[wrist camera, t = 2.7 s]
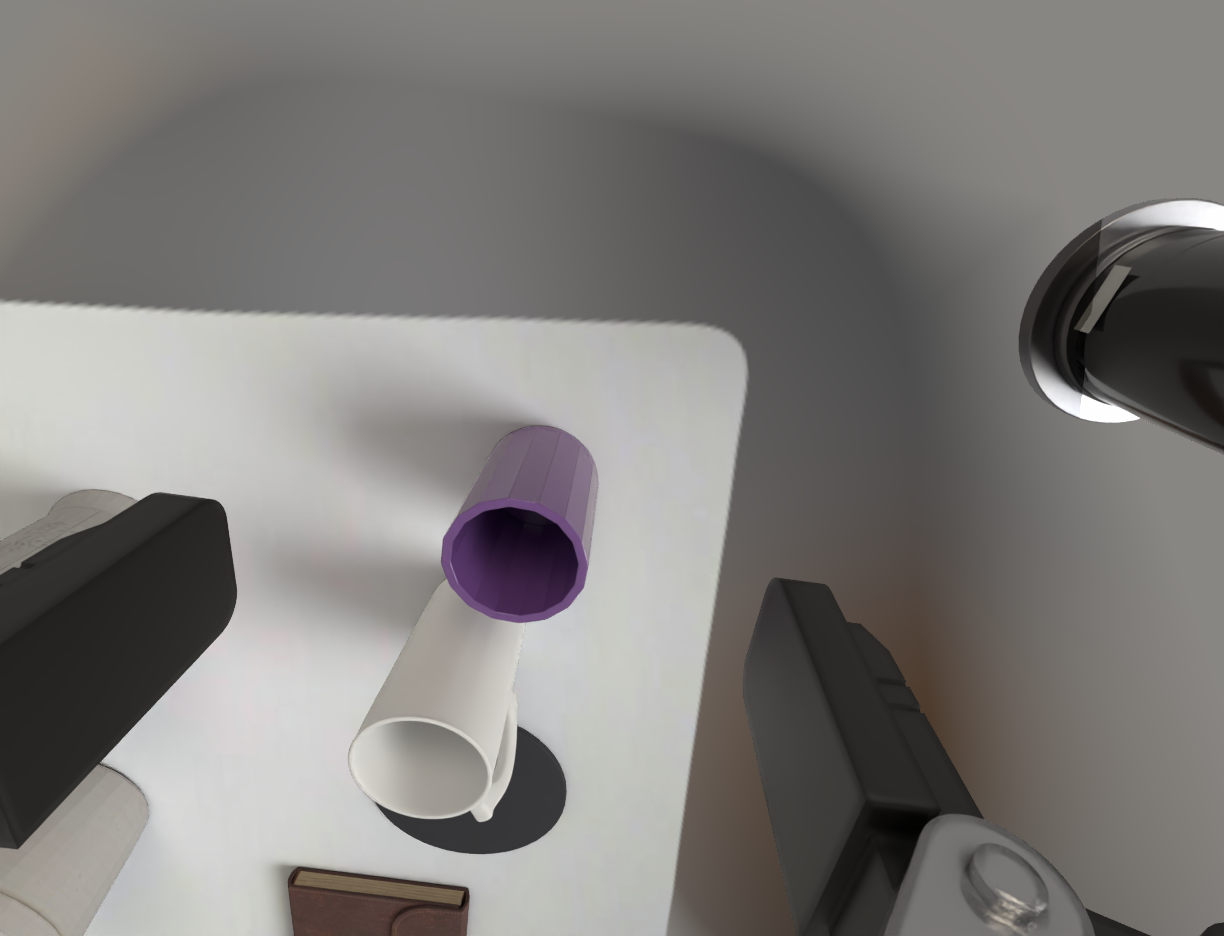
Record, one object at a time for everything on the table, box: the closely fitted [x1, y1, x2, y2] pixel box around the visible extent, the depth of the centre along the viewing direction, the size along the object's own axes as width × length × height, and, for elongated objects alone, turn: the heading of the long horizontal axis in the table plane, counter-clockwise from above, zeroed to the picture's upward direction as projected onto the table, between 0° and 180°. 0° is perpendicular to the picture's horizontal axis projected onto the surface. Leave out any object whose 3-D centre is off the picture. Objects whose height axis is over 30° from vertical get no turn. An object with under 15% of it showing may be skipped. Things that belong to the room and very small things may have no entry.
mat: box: [375, 726, 567, 854], centre depth 46 cm, size 15×15×1 cm
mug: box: [348, 579, 526, 822], centre depth 34 cm, size 10×7×12 cm, turn 25°
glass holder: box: [0, 490, 138, 575], centre depth 31 cm, size 9×14×15 cm, turn 101°
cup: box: [441, 426, 598, 623], centre depth 31 cm, size 6×6×9 cm
